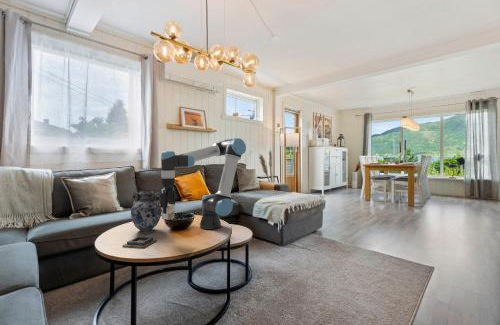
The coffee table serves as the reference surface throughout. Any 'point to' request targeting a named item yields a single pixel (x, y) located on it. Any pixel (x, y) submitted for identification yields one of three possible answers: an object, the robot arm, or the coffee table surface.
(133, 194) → the decorative vase
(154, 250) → the coffee table surface
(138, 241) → the base board
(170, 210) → the birch block
